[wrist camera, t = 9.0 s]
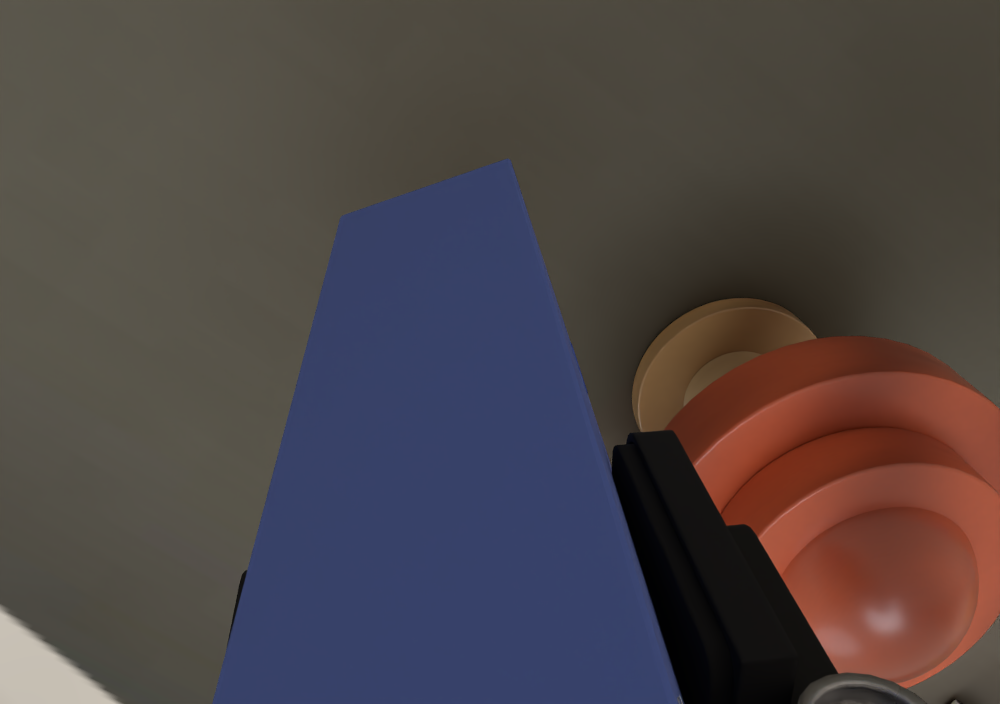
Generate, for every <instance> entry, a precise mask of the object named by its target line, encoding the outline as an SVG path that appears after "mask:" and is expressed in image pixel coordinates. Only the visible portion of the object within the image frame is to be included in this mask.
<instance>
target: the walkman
mask: <svg viewBox="0 0 1000 704" xmlns="http://www.w3.org/2000/svg"><path fill="white" fill-rule="evenodd" d="M587 393H588V392H587V389H586V386H585V383H584V380H583V377H582V374H581V371H580V368H579V365H578V362H577V358H576V355H575V352H574V349H573V346H572V344H571V342H570V339H569V336H568V333H567V330H566V327H565V324H564V321H563V318H562V315H561V312H560V309H559V306H558V303H557V300H556V297H555V294H554V291H553V288H552V284H551V281H550V278H549V275H548V272H547V269H546V266H545V263H544V260H543V257H542V254H541V251H540V248H539V245H538V242H537V239H536V236H535V233H534V230H533V227H532V224H531V221H530V218H529V215H528V212H527V209H526V206H525V202H524V199H523V196H522V193H521V190H520V187H519V184H518V181H517V178H516V175H515V172H514V169H513V166H512V163H511V160H509V159H505V160H502V161H499V162H496V163H493V164H490V165H487V166H484V167H481V168H479V169H476V170H473V171H470V172H467V173H464V174H461V175H458V176H455V177H452V178H450V179H447V180H444V181H441V182H438V183H435V184H432V185H429V186H426V187H424V188H421V189H418V190H415V191H412V192H409V193H406V194H403V195H400V196H397V197H395V198H392V199H389V200H386V201H383V202H380V203H377V204H374V205H371V206H369V207H366V208H363V209H360V210H357V211H354V212H351V213H348V214H345V215H343V216H341V218H340V221H339V225H338V229H337V233H336V236H335V240H334V244H333V248H332V252H331V255H330V259H329V263H328V267H327V271H326V274H325V278H324V282H323V286H322V290H321V293H320V297H319V301H318V305H317V309H316V312H315V316H314V320H313V324H312V328H311V331H310V335H309V339H308V343H307V347H306V350H305V354H304V358H303V362H302V365H301V369H300V373H299V377H298V381H297V384H296V388H295V392H294V396H293V400H292V403H291V407H290V411H289V415H288V419H287V422H286V426H285V430H284V434H283V438H282V441H281V445H280V449H279V453H278V457H277V460H276V464H275V468H274V472H273V476H272V479H271V483H270V487H269V491H268V494H267V498H266V502H265V506H264V510H263V513H262V517H261V521H260V525H259V529H258V532H257V536H256V540H255V544H254V548H253V551H252V555H251V559H250V563H249V567H248V570H247V574H246V578H245V582H244V586H243V589H242V593H241V597H240V601H239V605H238V608H237V612H236V616H235V620H234V623H233V627H232V631H231V635H230V639H229V642H228V646H227V650H226V654H225V658H224V661H223V665H222V669H221V673H220V677H219V680H218V684H217V688H216V692H215V696H214V699H213V703H212V704H685V703H684V700H683V697H682V694H681V690H680V687H679V684H678V681H677V678H676V675H675V672H674V668H673V665H672V662H671V659H670V656H669V653H668V650H667V646H666V643H665V640H664V637H663V634H662V631H661V627H660V624H659V621H658V618H657V615H656V612H655V609H654V605H653V602H652V599H651V596H650V593H649V590H648V586H647V583H646V580H645V577H644V574H643V571H642V568H641V564H640V561H639V558H638V555H637V552H636V549H635V546H634V542H633V539H632V536H631V533H630V530H629V527H628V523H627V520H626V517H625V514H624V511H623V508H622V505H621V501H620V498H619V495H618V492H617V489H616V486H615V482H614V479H613V476H612V467H611V464H610V461H609V458H608V455H607V452H606V448H605V445H604V442H603V439H602V436H601V433H600V430H599V427H598V424H597V421H596V418H595V415H594V412H593V409H592V406H591V403H590V400H589V397H588V394H587Z"/></svg>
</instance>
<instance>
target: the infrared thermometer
mask: <svg viewBox="0 0 1000 704" xmlns="http://www.w3.org/2000/svg"><path fill="white" fill-rule="evenodd" d="M951 704H962V703H961V702H959V701H958V700H954V701H953V702H952V703H951Z"/></svg>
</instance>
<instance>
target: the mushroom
mask: <svg viewBox="0 0 1000 704" xmlns="http://www.w3.org/2000/svg"><path fill="white" fill-rule="evenodd" d="M632 407H633V412H634V417H635V420H636V423H637V426H638V428H639V430H640V432H649V431H662V430H673V431H674V432H675V434H676V435H677V437H678V439H679V441H680V442H681V444H682V446H683V448H684V450H685V451H686V453H687V455H688V457H689V459H690V461H691V462H692V464H693V466H694V468H695V470H696V471H697V473H698V475H699V477H700V479H701V480H702V482H703V484H704V486H705V488H706V489H707V491H708V493H709V495H710V497H711V498H712V500H713V502H714V504H715V506H716V507H717V509H718V511H719V513H720V515H721V516H722V518H723V520H724V522H725V524H726V526H727V525H738V524H745V525H748V526H750V527H751V529H752V530H753V531H754V532H755V534H756V535H757V537H758V539H759V540H760V542H761V544H762V545H763V547H764V549H765V550H766V552H767V554H768V555H769V557H770V559H771V560H772V562H773V564H774V566H775V567H776V569H777V571H778V572H779V574H780V576H781V577H782V579H783V581H784V582H785V584H786V586H787V587H788V589H789V591H790V593H791V594H792V596H793V598H794V599H795V601H796V603H797V604H798V606H799V608H800V609H801V611H802V613H803V614H804V616H805V618H806V620H807V621H808V623H809V625H810V626H811V628H812V630H813V631H814V633H815V635H816V636H817V638H818V640H819V641H820V643H821V645H822V647H823V648H824V650H825V652H826V653H827V655H828V657H829V658H830V660H831V662H832V663H833V665H834V667H835V668H836V670H837V672H838V674H839V673H846V672H849V673H859V674H870V675H873V676H876V677H880V678H883V679H886V680H889V681H893V682H895V683H896V684H898V685H900V686H902V687H904V688H906V689H907V688H909V687H911V686H913V685H916V684H918V683H920V682H922V681H924V680H926V679H927V678H929V677H931V676H933V675H935V674H936V673H938V672H940V671H941V670H943V669H944V668H946V667H947V666H948V665H950V664H951V663H953V662H954V661H956V660H957V659H958V658H959V657H960V656H962V655H963V654H964V653H965V652H967V651H968V650H969V649H970V648H971V647H972V646H973V645H974V644H975V643H976V642H977V641H978V640H979V639H980V638H981V637H982V636H983V635H984V634H985V632H986V631H987V630H988V629H989V628H990V627H991V625H992V624H993V623H994V621H995V620H996V618H997V617H998V615H999V614H1000V409H999V408H998V407H997V406H996V405H995V404H994V403H993V402H991V401H990V400H989V399H988V398H987V397H986V396H984V395H983V394H982V393H981V392H979V391H978V390H977V389H976V388H975V387H973V386H972V385H971V384H970V383H969V382H967V381H966V380H965V379H964V378H962V377H961V376H960V375H959V374H958V373H956V372H955V371H954V370H953V369H952V368H950V367H949V366H948V365H947V364H945V363H943V362H942V361H940V360H939V359H937V358H936V357H934V356H932V355H931V354H929V353H927V352H925V351H922V350H920V349H918V348H915V347H913V346H911V345H908V344H904V343H900V342H896V341H893V340H889V339H883V338H875V337H866V336H834V337H826V338H819V339H817V338H816V336H815V335H814V334H813V333H812V332H811V330H810V329H809V328H808V327H807V326H806V325H805V324H804V323H803V322H802V321H801V320H800V319H799V318H798V317H796V316H795V315H794V314H793V313H791V312H790V311H788V310H787V309H785V308H783V307H781V306H779V305H777V304H774V303H772V302H768V301H764V300H760V299H752V298H732V299H724V300H719V301H715V302H711V303H708V304H705V305H703V306H700V307H697V308H695V309H693V310H692V311H690V312H688V313H686V314H684V315H683V316H681V317H680V318H678V319H677V320H675V321H674V322H672V323H671V324H670V325H669V326H668V327H666V328H665V329H664V330H663V331H662V332H661V333H660V334H659V335H658V336H657V337H656V339H655V340H654V341H653V342H652V344H651V345H650V346H649V348H648V349H647V351H646V353H645V354H644V356H643V358H642V360H641V362H640V364H639V367H638V369H637V371H636V375H635V379H634V383H633V390H632Z"/></svg>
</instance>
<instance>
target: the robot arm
mask: <svg viewBox="0 0 1000 704" xmlns="http://www.w3.org/2000/svg"><path fill="white" fill-rule="evenodd" d="M612 476H613V479H614V482H615V486H616V489H617V492H618V495H619V498H620V501H621V505H622V508H623V511H624V514H625V517H626V520H627V523H628V527H629V530H630V533H631V536H632V539H633V542H634V546H635V549H636V552H637V555H638V558H639V561H640V564H641V568H642V571H643V574H644V577H645V580H646V583H647V586H648V590H649V593H650V596H651V599H652V602H653V605H654V609H655V612H656V615H657V618H658V621H659V624H660V627H661V631H662V634H663V637H664V640H665V643H666V646H667V650H668V653H669V656H670V659H671V662H672V665H673V668H674V672H675V675H676V678H677V681H678V684H679V687H680V690H681V694H682V697H683V700H684V703H685V704H927V703H926V702H925V701H923V700H922V699H921V698H920V697H919V696H917V695H916V694H915V693H913V692H911V691H909V690H908V689H906V688H904V687H902V686H900V685H898V684H896V683H895V682H893V681H889V680H886V679H883V678H880V677H876V676H873V675H870V674H859V673H849V672H846V673H839V674H838V672H837V670H836V668H835V667H834V665H833V663H832V662H831V660H830V658H829V657H828V655H827V653H826V652H825V650H824V648H823V647H822V645H821V643H820V641H819V640H818V638H817V636H816V635H815V633H814V631H813V630H812V628H811V626H810V625H809V623H808V621H807V620H806V618H805V616H804V614H803V613H802V611H801V609H800V608H799V606H798V604H797V603H796V601H795V599H794V598H793V596H792V594H791V593H790V591H789V589H788V587H787V586H786V584H785V582H784V581H783V579H782V577H781V576H780V574H779V572H778V571H777V569H776V567H775V566H774V564H773V562H772V560H771V559H770V557H769V555H768V554H767V552H766V550H765V549H764V547H763V545H762V544H761V542H760V540H759V539H758V537H757V535H756V534H755V532H754V531H753V530H752V529H751V527H750V526H748V525H745V524H738V525H727V526H726V524H725V522H724V520H723V518H722V516H721V515H720V513H719V511H718V509H717V507H716V506H715V504H714V502H713V500H712V498H711V497H710V495H709V493H708V491H707V489H706V488H705V486H704V484H703V482H702V480H701V479H700V477H699V475H698V473H697V471H696V470H695V468H694V466H693V464H692V462H691V461H690V459H689V457H688V455H687V453H686V451H685V450H684V448H683V446H682V444H681V442H680V441H679V439H678V437H677V435H676V434H675V432H674V431H673V430H662V431H649V432H637V433H630V434H629V435H628V438H627V442H626V445H615V447H614V449H613V456H612ZM246 574H247V570H246V571H245V572H244V573H243V574H242V577H241V581H240V584H239V589H238V594H237V599H236V604H235V609H234V614H233V619H232V624H231V629H230V634H229V639H230V635H231V631H232V627H233V623H234V620H235V616H236V612H237V608H238V605H239V601H240V597H241V593H242V589H243V586H244V582H245V578H246ZM229 639H228V642H229ZM227 646H228V644H227ZM226 650H227V649H226Z"/></svg>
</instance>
